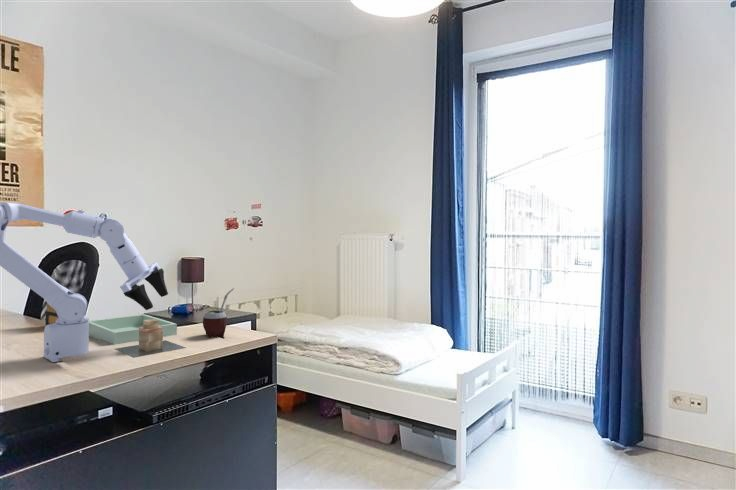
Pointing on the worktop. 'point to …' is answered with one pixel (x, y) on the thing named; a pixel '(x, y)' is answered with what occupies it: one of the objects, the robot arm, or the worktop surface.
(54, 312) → the ammunition clip
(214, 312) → the mate gourd
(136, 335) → the bin
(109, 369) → the worktop surface
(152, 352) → the base
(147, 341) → the square capped bottle
